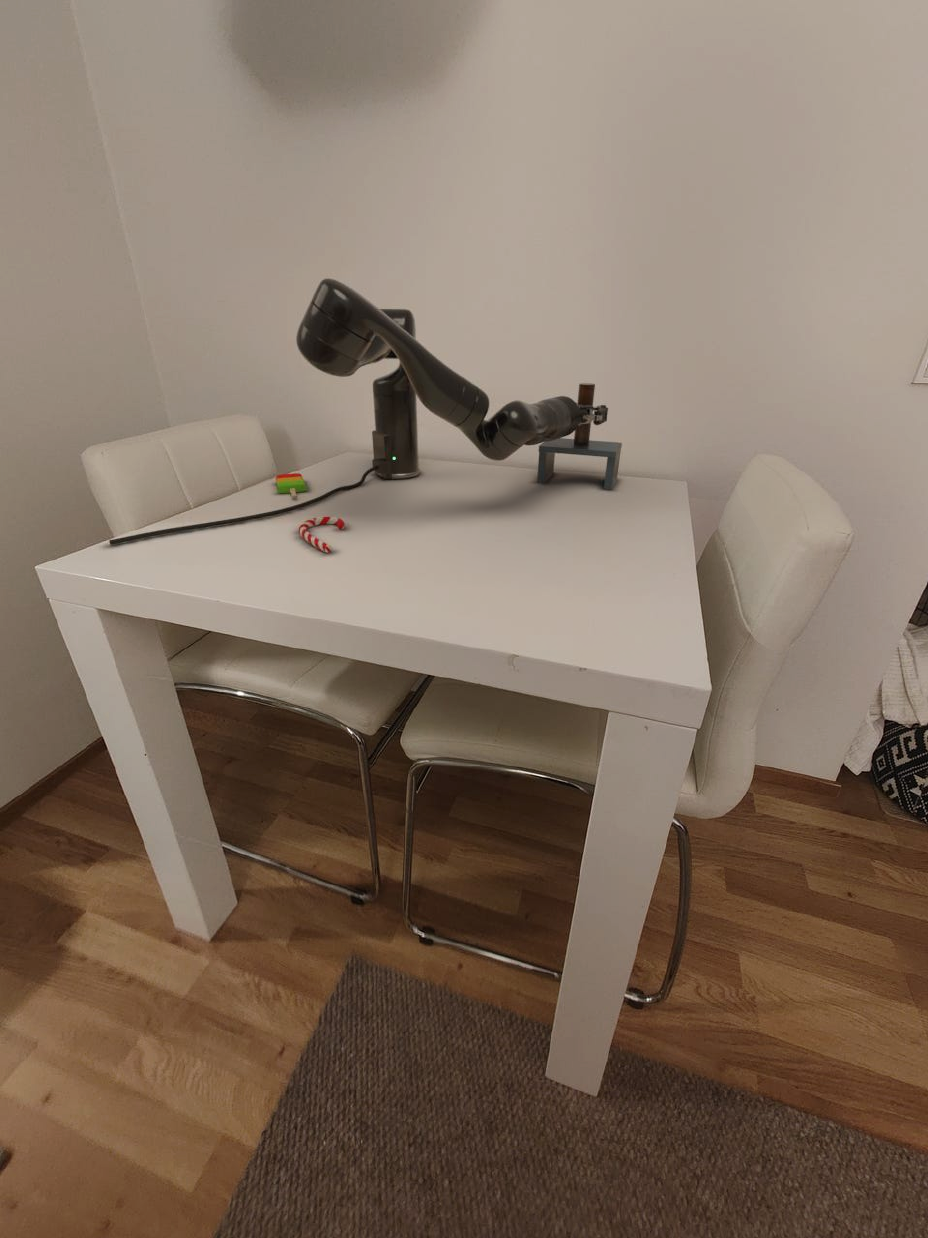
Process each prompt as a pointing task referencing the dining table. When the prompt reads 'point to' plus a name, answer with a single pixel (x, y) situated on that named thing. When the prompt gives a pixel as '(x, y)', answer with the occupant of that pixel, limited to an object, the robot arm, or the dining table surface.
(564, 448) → the shelf
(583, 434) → the stick
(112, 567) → the dining table surface
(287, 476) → the popsicle
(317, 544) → the candy cane
